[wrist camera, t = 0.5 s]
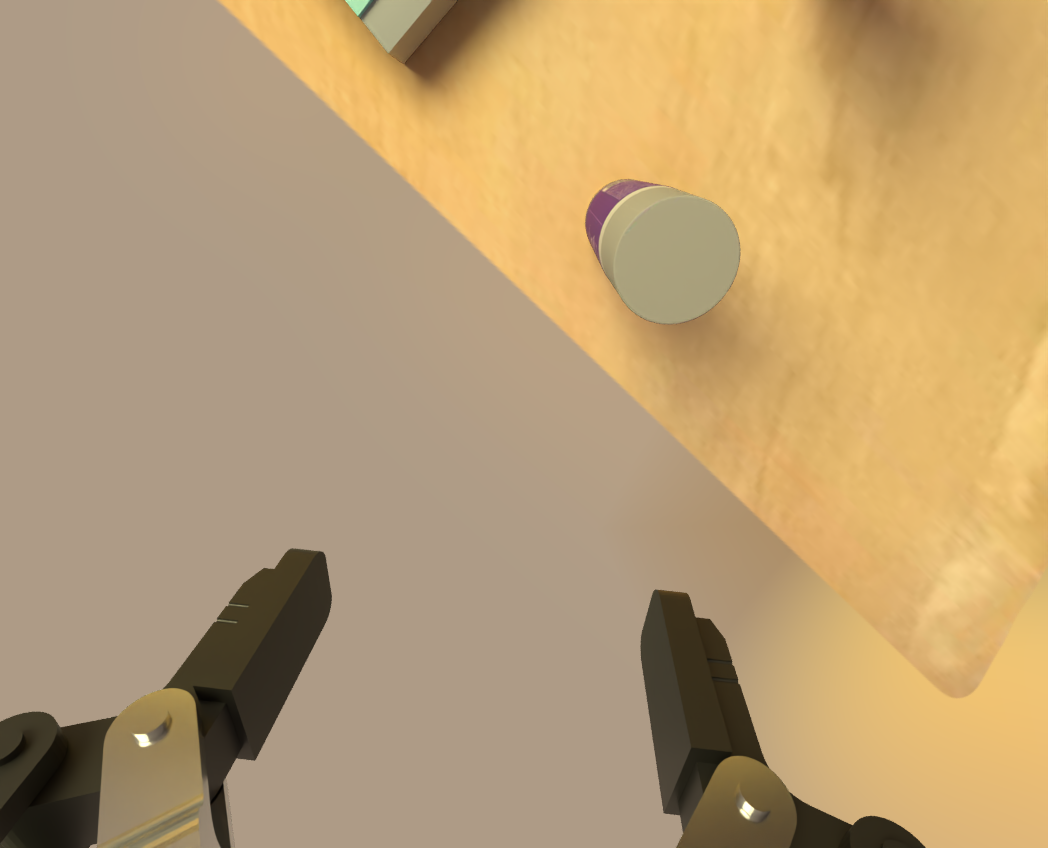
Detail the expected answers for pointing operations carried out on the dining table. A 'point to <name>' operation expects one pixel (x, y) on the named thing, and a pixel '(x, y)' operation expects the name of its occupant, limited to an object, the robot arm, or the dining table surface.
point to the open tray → (401, 22)
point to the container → (663, 249)
